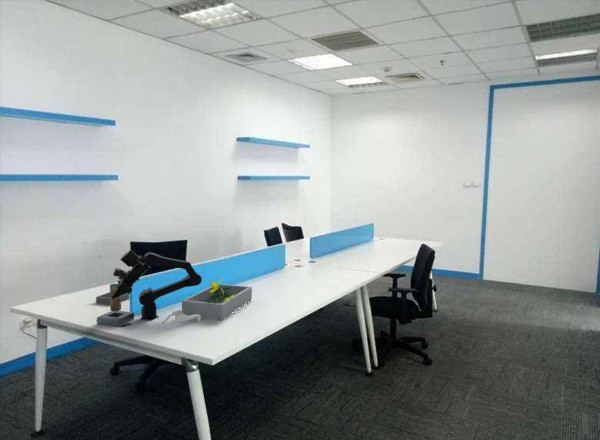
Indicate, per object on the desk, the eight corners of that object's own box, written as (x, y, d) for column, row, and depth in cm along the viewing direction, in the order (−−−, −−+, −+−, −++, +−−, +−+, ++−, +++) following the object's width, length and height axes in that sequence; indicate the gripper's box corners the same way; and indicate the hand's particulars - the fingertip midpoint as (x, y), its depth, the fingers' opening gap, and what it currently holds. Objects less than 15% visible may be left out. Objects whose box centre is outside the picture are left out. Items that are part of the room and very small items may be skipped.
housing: (134, 319, 214) (134, 312, 214) (118, 327, 203) (117, 319, 203) (114, 316, 218) (114, 310, 217) (97, 324, 206) (96, 317, 206)
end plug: (123, 308, 211) (122, 284, 210) (116, 311, 207) (116, 286, 206) (115, 307, 213) (114, 283, 212) (108, 310, 208) (107, 285, 207)
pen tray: (134, 296, 255) (134, 291, 255) (114, 305, 238) (113, 298, 237) (117, 294, 258) (117, 289, 258) (96, 303, 241) (96, 296, 241)
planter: (251, 300, 252) (251, 286, 252) (222, 320, 215) (222, 305, 214) (216, 296, 258) (216, 283, 258) (181, 315, 221) (181, 300, 220)
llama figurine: (170, 339, 205) (202, 319, 214) (161, 320, 201) (194, 300, 211) (169, 338, 206) (201, 318, 216) (159, 319, 203) (192, 299, 212)
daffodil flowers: (235, 300, 254) (242, 301, 220) (213, 312, 250) (216, 315, 216) (223, 275, 255) (227, 272, 221) (200, 286, 250) (201, 285, 217)
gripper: (122, 259, 218) (99, 282, 214) (124, 266, 201) (98, 291, 197) (139, 273, 222) (116, 295, 218) (142, 281, 205) (117, 306, 201)
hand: (112, 296), depth 209 cm, fingers closed on end plug, 5 cm apart
